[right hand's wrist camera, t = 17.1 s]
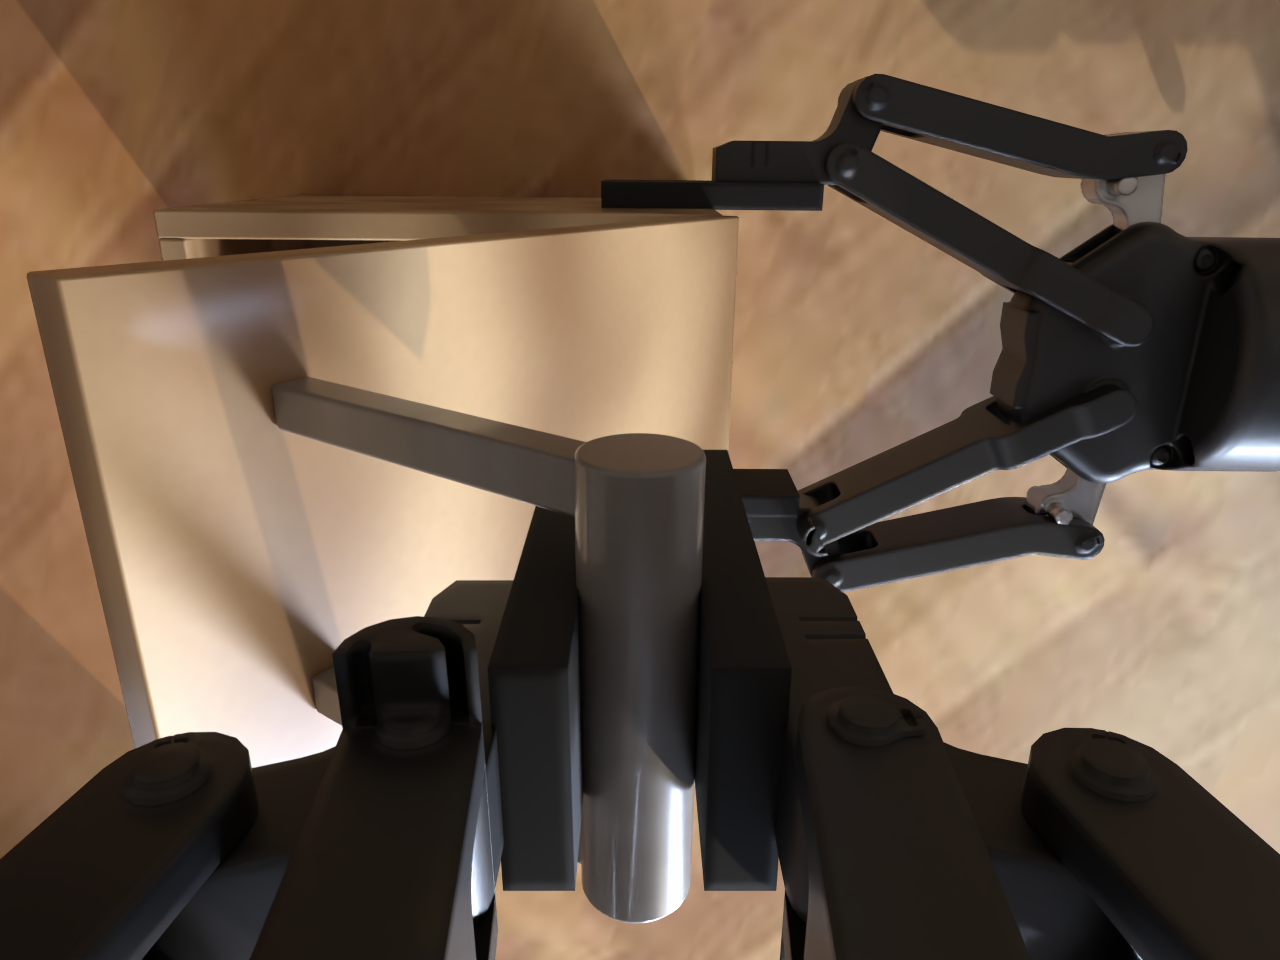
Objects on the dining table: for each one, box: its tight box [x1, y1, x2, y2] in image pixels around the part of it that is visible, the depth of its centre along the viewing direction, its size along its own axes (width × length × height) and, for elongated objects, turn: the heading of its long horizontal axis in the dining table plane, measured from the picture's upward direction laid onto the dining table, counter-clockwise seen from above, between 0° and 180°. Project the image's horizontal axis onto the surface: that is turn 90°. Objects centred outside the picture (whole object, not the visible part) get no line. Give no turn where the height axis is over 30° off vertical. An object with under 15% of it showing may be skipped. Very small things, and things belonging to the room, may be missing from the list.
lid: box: [27, 215, 739, 923], centre depth 16 cm, size 16×9×8 cm
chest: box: [154, 195, 722, 261], centre depth 29 cm, size 15×9×10 cm, turn 90°
